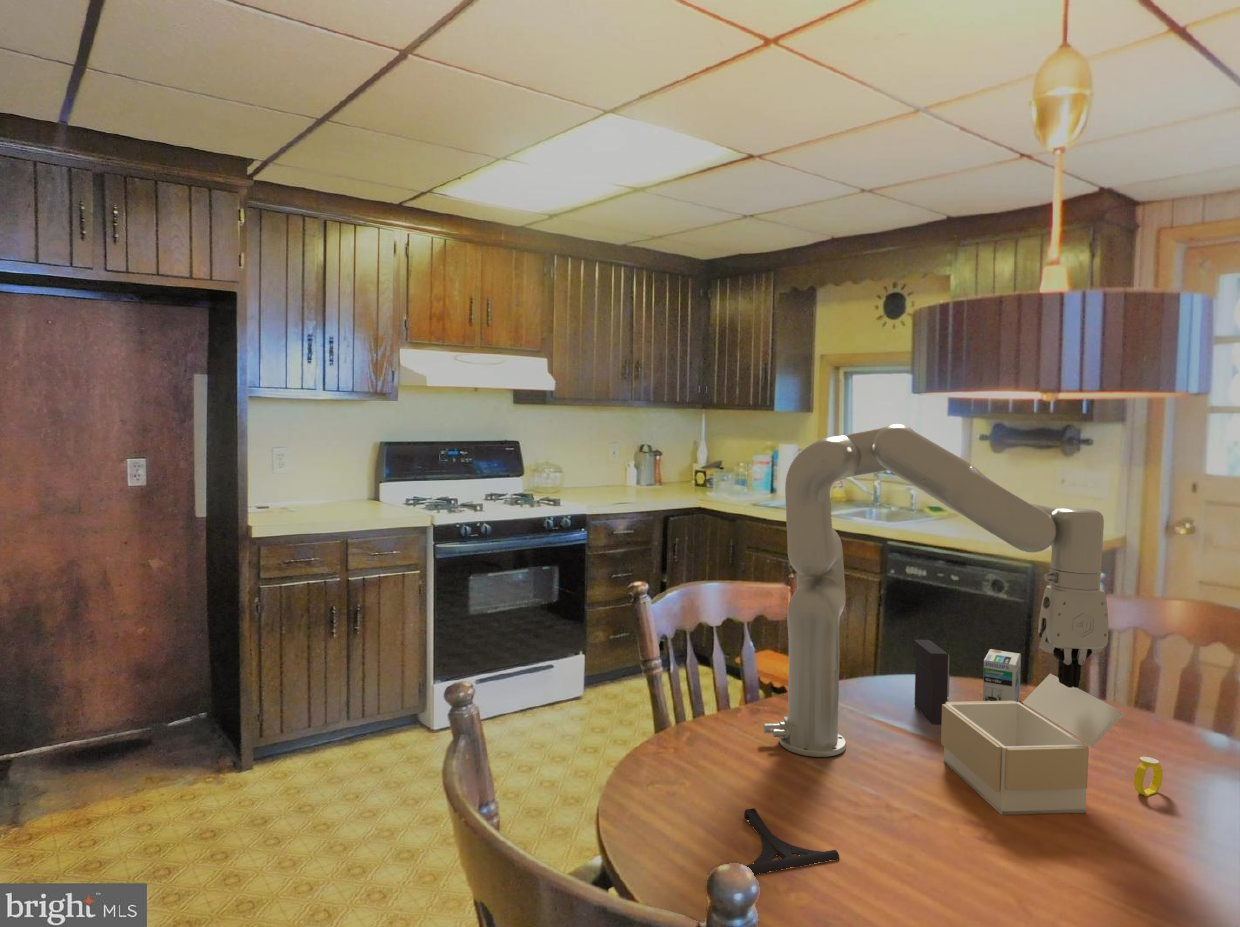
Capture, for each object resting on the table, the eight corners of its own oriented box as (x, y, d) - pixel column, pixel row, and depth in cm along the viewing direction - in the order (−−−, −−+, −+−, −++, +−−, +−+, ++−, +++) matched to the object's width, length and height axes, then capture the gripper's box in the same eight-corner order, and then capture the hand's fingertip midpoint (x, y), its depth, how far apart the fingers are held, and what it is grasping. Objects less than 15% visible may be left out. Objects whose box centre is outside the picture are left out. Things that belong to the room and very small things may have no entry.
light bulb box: (1015, 714, 173) (1017, 665, 172) (981, 708, 177) (982, 660, 176) (1020, 699, 182) (1021, 652, 182) (987, 694, 186) (989, 648, 185)
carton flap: (1120, 711, 130) (1124, 714, 130) (1050, 673, 149) (1053, 676, 149) (1089, 744, 130) (1092, 747, 130) (1022, 702, 149) (1025, 705, 149)
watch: (1148, 788, 139) (1151, 754, 139) (1165, 795, 137) (1168, 760, 137) (1128, 793, 136) (1131, 758, 136) (1145, 800, 134) (1148, 764, 134)
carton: (999, 817, 128) (1001, 750, 127) (937, 760, 150) (939, 702, 149) (1088, 815, 129) (1091, 748, 128) (1014, 758, 150) (1016, 700, 150)
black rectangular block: (950, 725, 167) (952, 653, 166) (929, 724, 167) (931, 653, 166) (931, 706, 178) (932, 639, 177) (911, 705, 178) (913, 639, 177)
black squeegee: (788, 815, 130) (788, 798, 130) (839, 864, 116) (839, 845, 116) (705, 829, 126) (705, 812, 125) (748, 881, 111) (748, 862, 111)
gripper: (1045, 584, 134) (1039, 692, 135) (1131, 585, 135) (1124, 692, 136) (1020, 575, 141) (1014, 677, 142) (1102, 576, 142) (1095, 678, 143)
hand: (1068, 684), depth 139 cm, fingers closed
